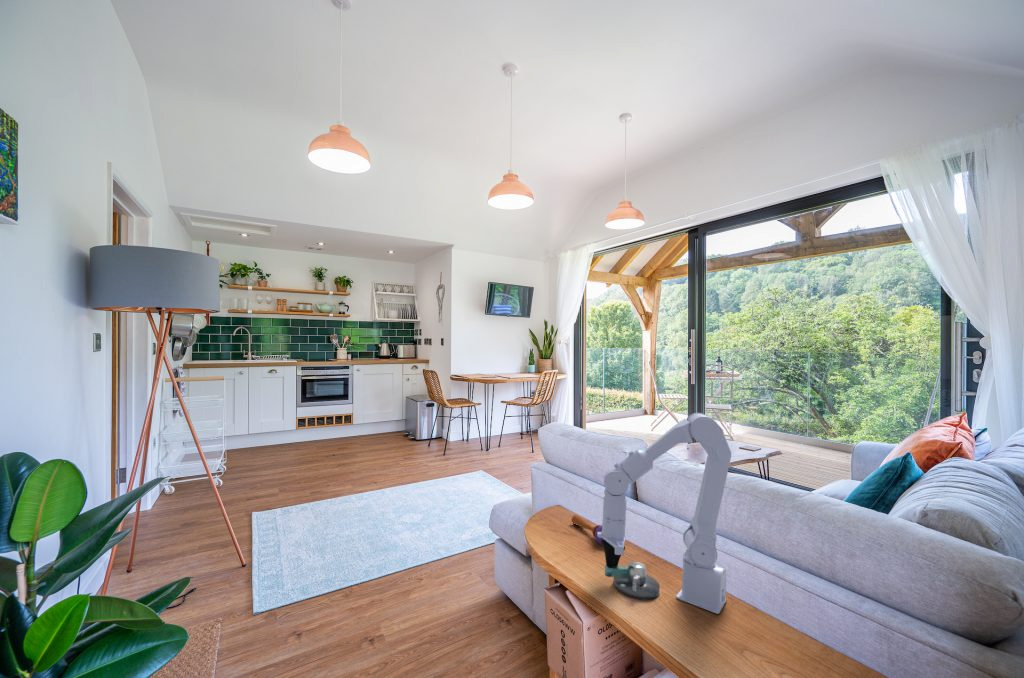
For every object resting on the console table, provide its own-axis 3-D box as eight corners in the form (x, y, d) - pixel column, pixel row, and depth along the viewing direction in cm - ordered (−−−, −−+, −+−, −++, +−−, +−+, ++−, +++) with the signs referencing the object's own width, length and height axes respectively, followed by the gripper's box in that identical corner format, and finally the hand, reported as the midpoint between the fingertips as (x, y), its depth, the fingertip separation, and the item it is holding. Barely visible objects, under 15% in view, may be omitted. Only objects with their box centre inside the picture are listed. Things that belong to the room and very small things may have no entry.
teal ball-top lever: (642, 576, 108) (643, 562, 109) (647, 585, 104) (648, 570, 104) (602, 573, 109) (603, 559, 109) (606, 582, 104) (607, 567, 104)
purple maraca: (584, 511, 148) (620, 529, 130) (581, 529, 147) (617, 549, 129) (569, 509, 146) (604, 527, 128) (566, 528, 145) (600, 548, 127)
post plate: (665, 587, 107) (666, 569, 107) (649, 605, 98) (650, 585, 99) (624, 572, 114) (625, 555, 114) (605, 587, 105) (606, 569, 106)
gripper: (593, 506, 116) (591, 557, 115) (603, 526, 102) (601, 585, 101) (619, 508, 116) (617, 559, 115) (633, 528, 101) (631, 587, 101)
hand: (611, 571), depth 108 cm, fingers closed, pressing on teal ball-top lever
